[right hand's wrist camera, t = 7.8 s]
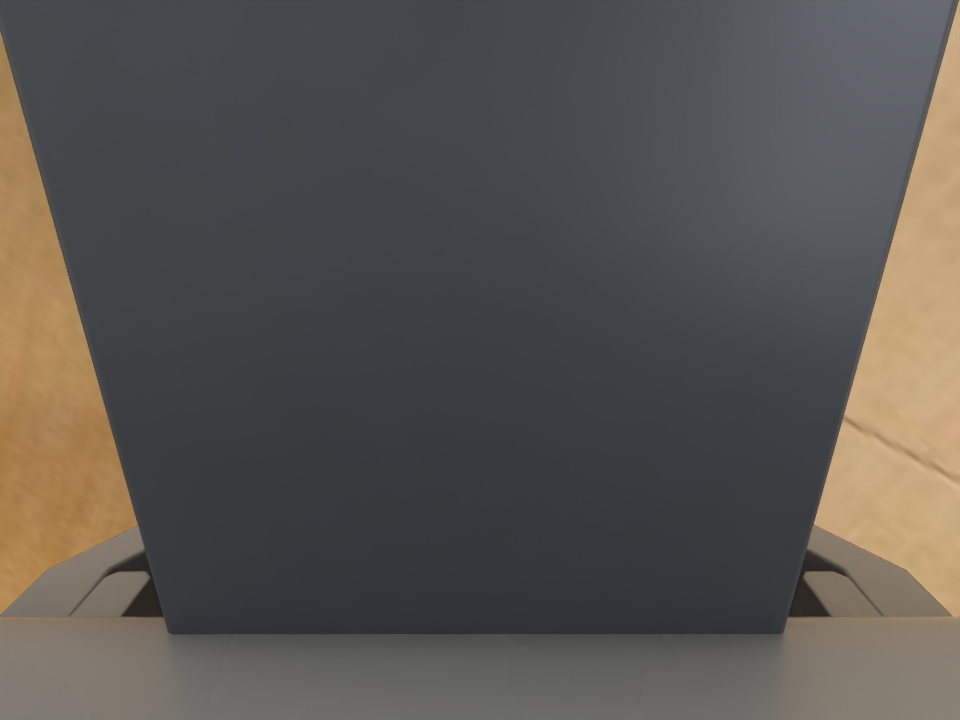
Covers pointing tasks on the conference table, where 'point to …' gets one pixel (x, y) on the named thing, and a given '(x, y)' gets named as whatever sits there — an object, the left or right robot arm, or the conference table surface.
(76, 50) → the bar
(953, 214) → the conference table surface
